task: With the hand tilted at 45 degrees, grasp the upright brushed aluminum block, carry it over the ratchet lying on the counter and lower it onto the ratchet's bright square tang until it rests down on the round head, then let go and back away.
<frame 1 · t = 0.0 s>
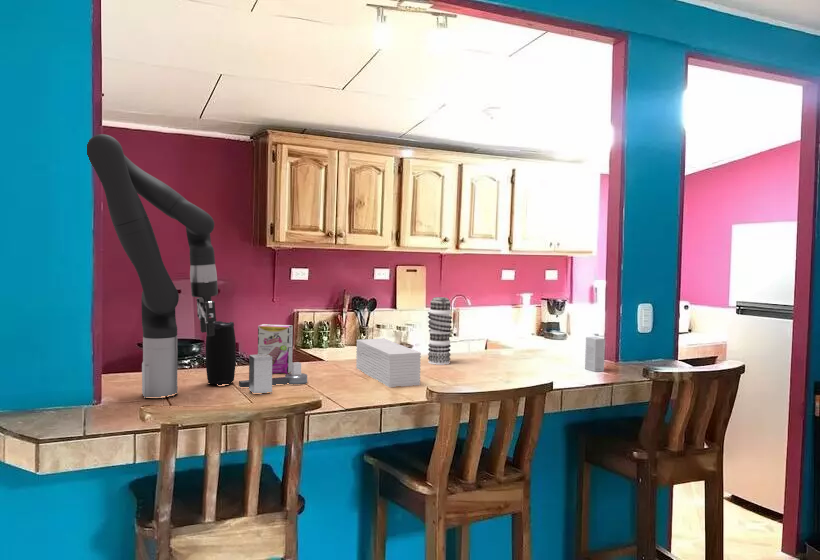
hand: (207, 334, 189), 17 cm above the countertop, tool pointing down, fingers open, 8 cm apart
candy bar box: (275, 372, 220), on the countertop
portable speaker: (220, 384, 200), on the countertop
stack of papers: (386, 377, 217), on the countertop
brushed aluminum block: (260, 392, 190), on the countertop
decorative candle: (439, 363, 243), on the countertop
skincare box: (594, 370, 234), on the countertop
ratchet: (296, 382, 204), on the countertop
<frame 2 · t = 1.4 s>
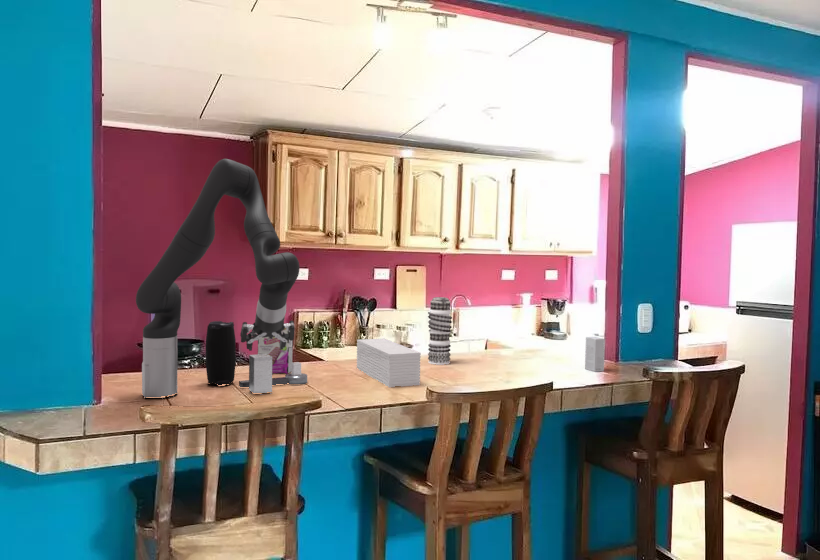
hand: (265, 347, 178), 15 cm above the countertop, tool tilted 45°, fingers open, 8 cm apart
nothing on the countertop moved.
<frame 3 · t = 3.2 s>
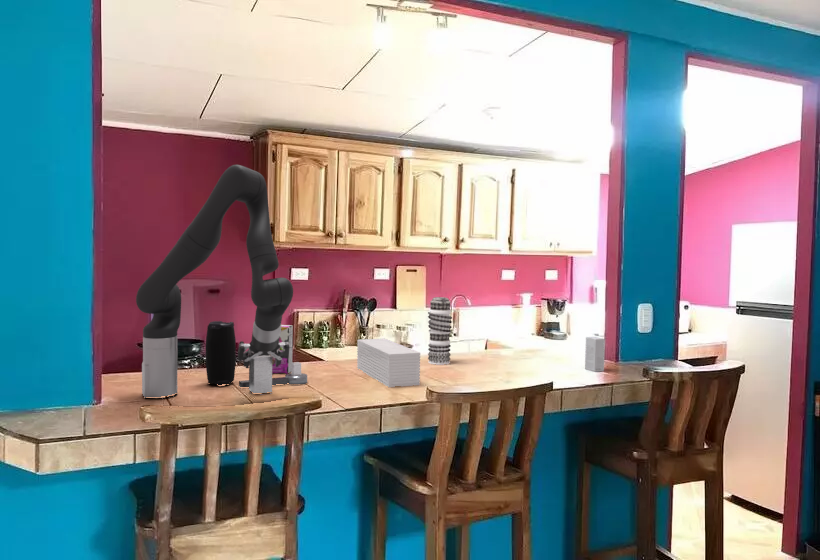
hand: (261, 365, 186), 9 cm above the countertop, tool tilted 45°, fingers open, 8 cm apart
nothing on the countertop moved.
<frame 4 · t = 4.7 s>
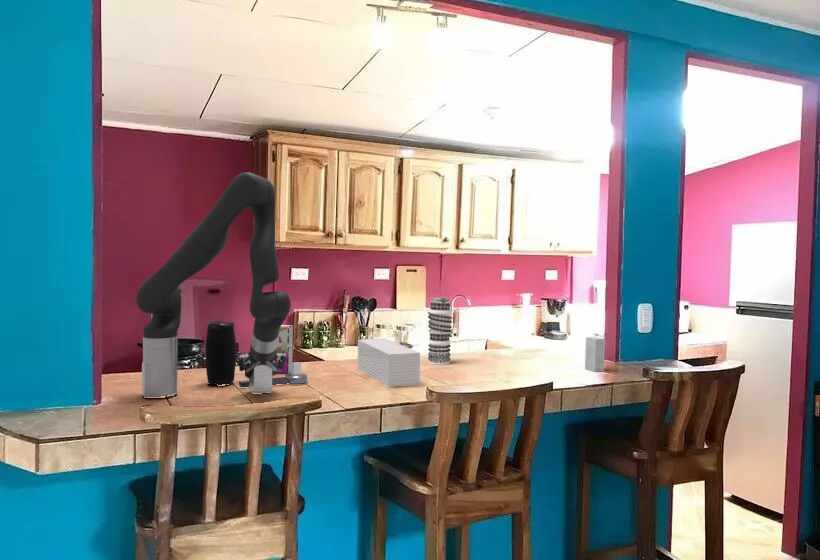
hand: (259, 375, 191), 5 cm above the countertop, tool tilted 45°, fingers closed on brushed aluminum block, 6 cm apart
brushed aluminum block: (260, 392, 190), on the countertop, touching gripper
everything else where it was.
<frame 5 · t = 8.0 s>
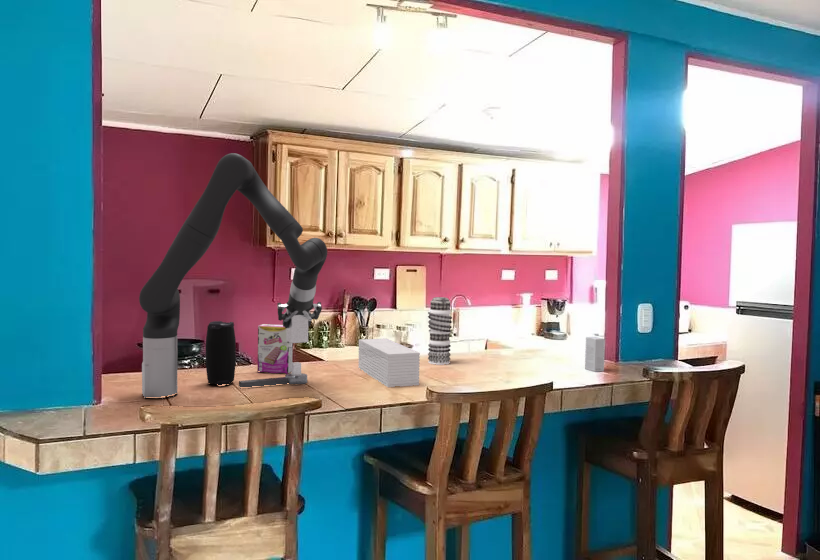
hand: (296, 325, 204), 18 cm above the countertop, tool tilted 45°, fingers closed on brushed aluminum block, 6 cm apart
brushed aluminum block: (297, 341, 203), point 13 cm above the countertop, touching gripper
everything else where it was.
when the fingers open (9 cm above the countertop, at t = 10.8 s): brushed aluminum block drops 1 cm, point 2 cm above the countertop.
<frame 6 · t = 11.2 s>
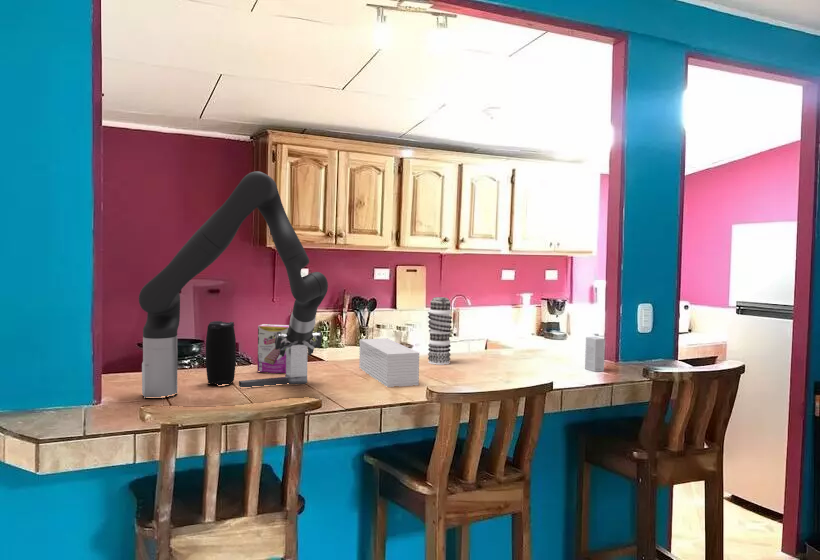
hand: (295, 353, 205), 9 cm above the countertop, tool tilted 45°, fingers open, 8 cm apart
brushed aluminum block: (296, 375, 204), point 2 cm above the countertop
everything else where it was.
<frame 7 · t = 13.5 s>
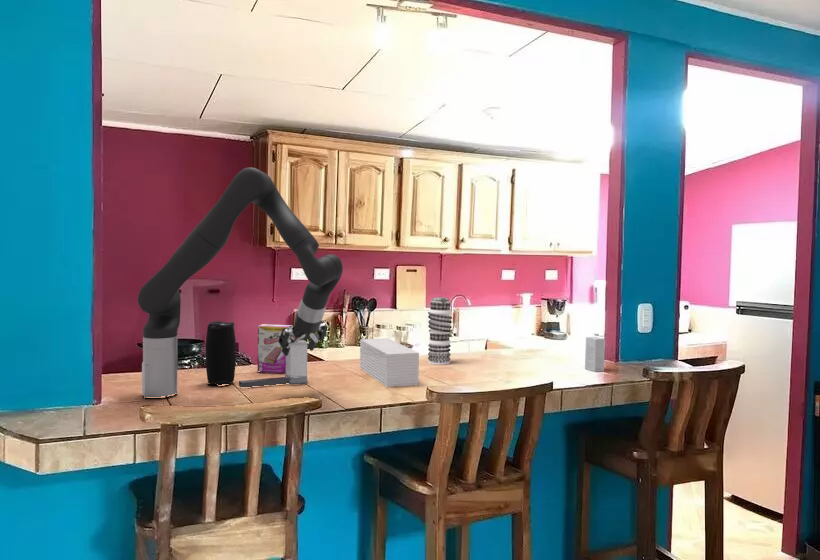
hand: (297, 351, 193), 12 cm above the countertop, tool tilted 40°, fingers open, 8 cm apart
brushed aluminum block: (296, 375, 204), point 2 cm above the countertop, touching ratchet
ratchet: (296, 382, 204), on the countertop, touching brushed aluminum block
everything else where it was.
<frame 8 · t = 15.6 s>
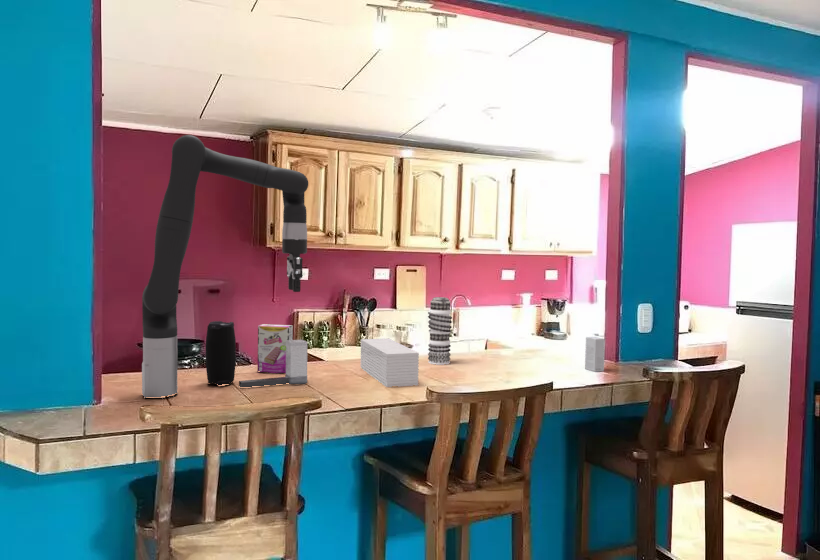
hand: (294, 290, 196), 30 cm above the countertop, tool pointing down, fingers open, 8 cm apart
nothing on the countertop moved.
at the end: brushed aluminum block 0.2 cm off-centre on the ratchet, point 2.5 cm above the ratchet's base; brushed aluminum block tilted 0°; the gripper is holding nothing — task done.
